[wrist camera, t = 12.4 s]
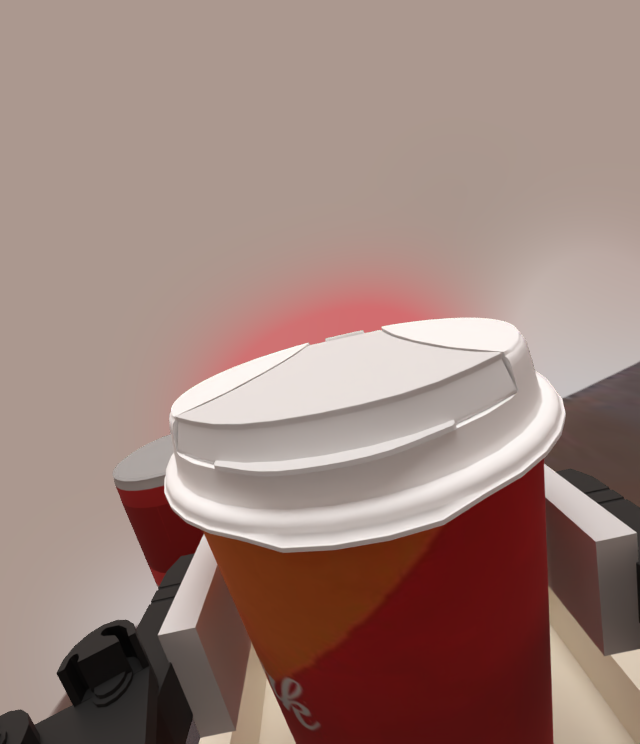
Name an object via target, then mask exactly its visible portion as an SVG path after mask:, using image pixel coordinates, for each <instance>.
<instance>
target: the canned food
mask: <svg viewBox="0 0 640 744" xmlns="http://www.w3.org/2000/svg"><path fill="white" fill-rule="evenodd" d="M173 453H174V449H173V444H172V438H171V434H170V435H167V436H164V437H162V438H160V439H157V440H156V441H153V442H151V443H149V444H147V445H145V446H143V447H141V448H139V449H138V450H136V451H134V452H133V453H131V454H130V455H129V456H127V457H126V458H125V459H123V460H122V461H121V462H120V463H119V464H118V465H117V466H116V467H115V469H114V471H113V477H114V482H115V485H116V488H117V490H118V493H119V495H120V498H121V501H122V503H123V506H124V508H125V510H126V513H127V515H128V518H129V520H130V522H131V525H132V527H133V529H134V532H135V534H136V536H137V539H138V541H139V543H140V546H141V548H142V551H143V553H144V555H145V558H146V560H147V562H148V565H149V567H150V569H151V572H152V574H153V577H154V579H155V582H156V584H157V586H158V587H159V585H160V584H161V582H162V580H163V578H164V576H165V574H166V572H167V571H168V570H169V569H170V568H171V566H172V565H173V564H174V563H175V562H176V561H177V560H178V559H179V558H180V557H181V556H185V555H189V554H194V553H195V552H196V550H197V548H198V546H199V544H200V541H201V539H202V537H203V535H204V533H203V530H201V529H199V528H197V527H195V526H192V525H190V524H188V523H186V522H185V521H184V520H183V519H182V518H181V517H179V516H178V515H177V514H176V513H175V512H174V511H173V510H172V509H171V506H170V504H169V502H168V500H167V498H166V496H165V493H164V479H165V476H166V468H167V466H168V463H169V460H170V458H171V456H172V454H173ZM158 589H159V588H158Z"/></svg>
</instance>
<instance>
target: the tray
mask: <svg viewBox="0 0 640 744" xmlns="http://www.w3.org/2000/svg"><path fill="white" fill-rule="evenodd" d="M548 594H549V622H550V650H551V678H552V710H553V743H554V744H640V649H638V650H633V651H628V652H623V653H618V654H613V655H608V656H604V655H603V654H602V652H601V651H600V650H599V649H598V647H597V646H596V645H595V644H594V642H593V641H592V640H591V639H590V637H589V636H588V635H587V634H586V632H585V631H584V630H583V629H582V627H581V626H580V625H579V624H578V622H577V621H576V620H575V619H574V617H573V616H572V615H571V614H570V612H569V611H568V610H567V609H566V607H565V606H564V605H563V604H562V602H561V601H560V600H559V599H558V597H557V596H556V595H555V594H554V592H553V591H552V590H551V589H550V587H549V586H548ZM199 744H296V743H295V741H294V739H293V736H292V734H291V732H290V729H289V727H288V725H287V723H286V720H285V718H284V716H283V713H282V711H281V709H280V707H279V704H278V702H277V700H276V697H275V695H274V693H273V691H272V688H271V686H270V684H269V681H268V679H267V677H266V674H265V672H264V670H263V668H262V665H261V663H260V661H259V658H258V656H257V654H256V652H255V649H254V647H253V645H252V642H251V648H250V653H249V659H248V665H247V670H246V676H245V681H244V687H243V692H242V698H241V704H240V709H239V715H238V720H237V726H236V731H232V732H227V733H222V734H217V735H212V736H207V737H202V738H201V737H200V741H199Z"/></svg>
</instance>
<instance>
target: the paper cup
mask: <svg viewBox="0 0 640 744" xmlns="http://www.w3.org/2000/svg"><path fill="white" fill-rule="evenodd" d="M325 340H326V342H323V343H319V344H314V345H309V343H306V344H302V345H299V346H295V347H292V348H288V349H285V350H282V351H278V352H275V353H272V354H269V355H266V356H263V357H260V358H257V359H255V360H252V361H249V362H246V363H243V364H241V365H238V366H236V367H233V368H231V369H228V370H226V371H224V372H221V373H219V374H217V375H215V376H213V377H211V378H209V379H207V380H205V381H203V382H201V383H199V384H197V385H196V386H194V387H192V388H191V389H189V390H188V391H186V392H185V393H184V394H182V395H181V396H180V397H179V398H178V399H177V400H176V401H175V402H174V404H173V406H172V407H171V413H170V416H169V423H170V432H171V438H172V444H173V449H174V453H173V454H172V456H171V458H170V460H169V463H168V466H167V468H166V476H165V479H164V493H165V496H166V498H167V500H168V502H169V504H170V506H171V509H172V510H173V511H174V512H175V513H176V514H177V515H178V516H179V517H181V518H182V519H183V520H184V521H185V522H186V523H188V524H190V525H192V526H195V527H197V528H199V529H201V530H203V533H204V535H205V537H206V539H207V542H208V544H209V546H210V549H211V551H212V553H213V555H214V558H215V560H216V562H217V565H218V567H219V569H220V571H221V574H222V576H223V578H224V581H225V583H226V585H227V587H228V590H229V592H230V594H231V597H232V599H233V601H234V603H235V606H236V608H237V610H238V613H239V615H240V617H241V619H242V622H243V624H244V626H245V629H246V631H247V633H248V635H249V638H250V640H251V642H252V645H253V647H254V649H255V652H256V654H257V656H258V658H259V661H260V663H261V665H262V668H263V670H264V672H265V674H266V677H267V679H268V681H269V684H270V686H271V688H272V691H273V693H274V695H275V697H276V700H277V702H278V704H279V707H280V709H281V711H282V713H283V716H284V718H285V720H286V723H287V725H288V727H289V729H290V732H291V734H292V736H293V739H294V741H295V743H296V744H554V743H553V710H552V678H551V650H550V622H549V594H548V566H547V536H546V507H545V478H544V458H545V457H546V456H547V455H548V453H549V452H550V451H551V449H552V448H553V446H554V445H555V443H556V442H557V441H558V439H559V438H560V436H561V434H562V430H563V426H564V422H565V418H566V415H565V410H564V405H563V400H562V398H561V397H560V395H559V394H558V393H557V391H556V390H555V389H554V388H553V386H552V385H551V384H550V382H549V381H548V380H547V378H545V377H544V376H542V375H541V374H539V373H538V372H536V371H535V369H534V365H533V362H532V358H531V355H530V351H529V348H528V345H527V342H526V340H525V338H524V337H523V336H522V334H521V333H520V332H519V331H518V330H517V328H516V327H515V326H514V325H512V324H510V323H507V322H505V321H500V320H495V319H486V318H447V319H435V320H424V321H415V322H409V323H401V324H394V325H388V326H383V327H382V331H381V330H378V331H373V332H369V333H364V331H363V330H362V331H358V332H353V333H348V334H344V335H340V336H335V337H331V338H326V339H325Z"/></svg>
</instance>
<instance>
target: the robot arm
mask: <svg viewBox="0 0 640 744" xmlns="http://www.w3.org/2000/svg"><path fill="white" fill-rule="evenodd" d="M544 478H545V507H546V536H547V566H548V586H549V587H550V589H551V590H552V591H553V592H554V594H555V595H556V596H557V597H558V599H559V600H560V601H561V602H562V604H563V605H564V606H565V607H566V609H567V610H568V611H569V612H570V614H571V615H572V616H573V617H574V619H575V620H576V621H577V622H578V624H579V625H580V626H581V627H582V629H583V630H584V631H585V632H586V634H587V635H588V636H589V637H590V639H591V640H592V641H593V642H594V644H595V645H596V646H597V647H598V649H599V650H600V651H601V652H602V654H603V655H604V656H608V655H613V654H618V653H623V652H628V651H633V650H638V649H640V508H639V507H638V506H636V505H635V504H633V503H632V502H630V501H629V500H625V499H624V497H623V496H621V495H620V494H618V493H617V492H615V491H614V490H610V489H609V487H608V486H606V485H605V484H603V483H602V482H600V481H599V480H597V479H596V478H594V477H592V476H590V475H587V474H584V473H582V472H579V471H576V470H573V469H567V470H562V471H558V472H555V471H553V470H552V469H551V468H549V467H548V466H546V465H545V464H544ZM158 588H159V590H158V591H156V593H155V595H154V597H153V599H152V601H151V605H149V606H148V608H147V610H146V612H145V614H144V616H143V618H142V620H141V621H140V623H139V625H138V627H137V629H135V626H134V624H133V623H131V622H130V621H128V620H116V621H113V622H110V623H108V624H105V625H103V626H101V627H99V628H98V629H96V630H94V631H93V632H91V633H90V634H88V635H87V636H86V637H85V638H83V640H81V641H80V642H79V643H78V644H77V645H75V646H74V648H73V649H72V650H71V651H70V653H69V654H68V655H67V656H66V657H65V659H64V660H63V662H62V664H61V666H60V667H59V670H58V672H57V675H58V677H59V679H60V681H61V683H62V684H63V687H64V688H65V690H66V692H67V694H68V696H69V698H70V700H71V702H72V704H73V705H72V706H70V707H68V708H66V709H64V710H62V711H60V712H58V713H57V714H55V715H53V716H51V717H49V718H47V719H45V720H43V721H41V722H39V723H37V724H35V725H34V724H33V722H32V720H31V718H30V717H29V715H28V713H26V712H24V711H22V710H15V711H10V712H7V713H5V714H3V715H1V716H0V744H186V739H187V736H188V732H189V729H190V725H191V722H192V718H193V721H194V723H195V725H196V728H197V730H198V732H199V735H200V737H201V738H202V737H207V736H212V735H217V734H222V733H227V732H232V731H236V726H237V720H238V715H239V709H240V704H241V698H242V692H243V687H244V681H245V676H246V670H247V665H248V659H249V653H250V648H251V640H250V638H249V635H248V633H247V631H246V629H245V626H244V624H243V622H242V619H241V617H240V615H239V613H238V610H237V608H236V606H235V603H234V601H233V599H232V597H231V594H230V592H229V590H228V587H227V585H226V583H225V581H224V578H223V576H222V574H221V571H220V569H219V567H218V565H217V562H216V560H215V558H214V555H213V553H212V551H211V549H210V546H209V544H208V542H207V539H206V537H205V535H203V537H202V539H201V541H200V544H199V546H198V548H197V550H196V552H195V553H194V554H189V555H185V556H181V557H180V558H179V559H178V560H177V561H176V562H175V563H174V564H173V565H172V566H171V568H170V569H169V570H168V571H167V572H166V574H165V576H164V578H163V580H162V582H161V584H160V585H159V587H158Z"/></svg>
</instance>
